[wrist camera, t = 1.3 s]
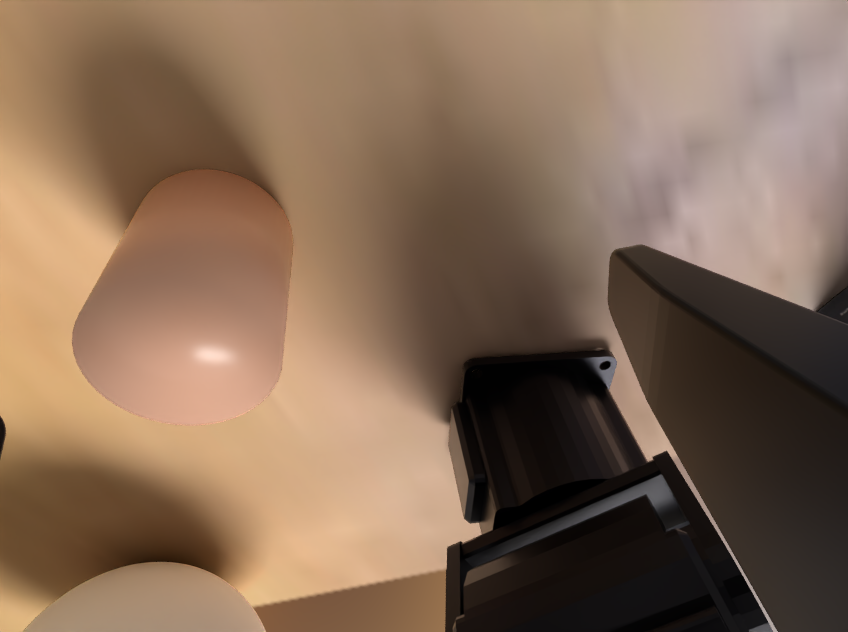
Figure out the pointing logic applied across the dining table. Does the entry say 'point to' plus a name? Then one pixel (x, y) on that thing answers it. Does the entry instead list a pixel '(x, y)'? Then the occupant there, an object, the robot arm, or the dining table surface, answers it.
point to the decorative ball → (150, 603)
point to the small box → (837, 307)
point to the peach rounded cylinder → (191, 303)
